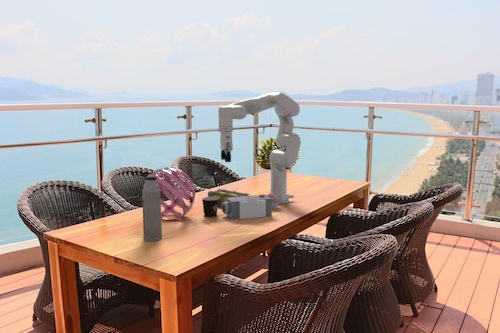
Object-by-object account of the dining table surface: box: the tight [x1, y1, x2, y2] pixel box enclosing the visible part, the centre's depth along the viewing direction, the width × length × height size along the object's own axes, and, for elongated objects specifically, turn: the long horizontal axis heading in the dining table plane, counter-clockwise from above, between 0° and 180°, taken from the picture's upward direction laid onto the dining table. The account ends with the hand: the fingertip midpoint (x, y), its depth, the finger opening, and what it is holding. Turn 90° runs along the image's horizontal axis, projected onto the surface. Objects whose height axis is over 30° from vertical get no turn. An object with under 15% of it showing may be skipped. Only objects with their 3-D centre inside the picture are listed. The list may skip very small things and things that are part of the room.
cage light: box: [207, 188, 251, 209], centre depth 273 cm, size 15×8×30 cm
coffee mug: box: [201, 196, 221, 219], centre depth 247 cm, size 12×9×10 cm
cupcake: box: [265, 191, 279, 210], centre depth 264 cm, size 9×9×10 cm
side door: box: [238, 194, 267, 221], centre depth 241 cm, size 14×1×13 cm, turn 108°
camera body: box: [221, 193, 273, 220], centre depth 246 cm, size 25×10×11 cm, turn 108°
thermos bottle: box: [141, 176, 163, 242], centre depth 208 cm, size 8×8×28 cm
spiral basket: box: [145, 166, 196, 222], centre depth 243 cm, size 28×28×27 cm
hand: (225, 160), depth 254 cm, fingers open, 9 cm apart
